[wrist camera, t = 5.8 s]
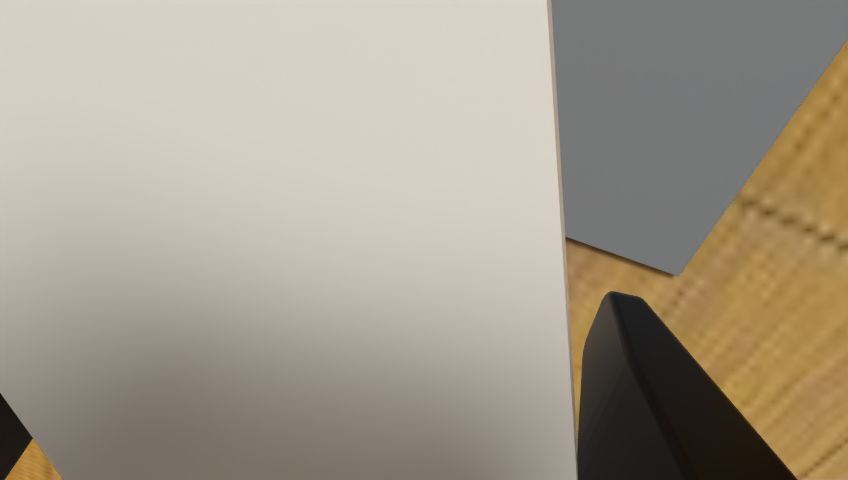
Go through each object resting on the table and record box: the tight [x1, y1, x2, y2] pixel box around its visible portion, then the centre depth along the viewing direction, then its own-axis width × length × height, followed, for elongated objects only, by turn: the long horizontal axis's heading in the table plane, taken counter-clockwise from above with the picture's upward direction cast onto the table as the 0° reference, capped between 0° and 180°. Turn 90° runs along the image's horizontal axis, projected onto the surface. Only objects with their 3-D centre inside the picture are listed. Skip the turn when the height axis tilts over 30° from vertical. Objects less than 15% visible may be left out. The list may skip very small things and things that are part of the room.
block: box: [0, 0, 578, 480], centre depth 8 cm, size 10×5×4 cm, turn 10°
